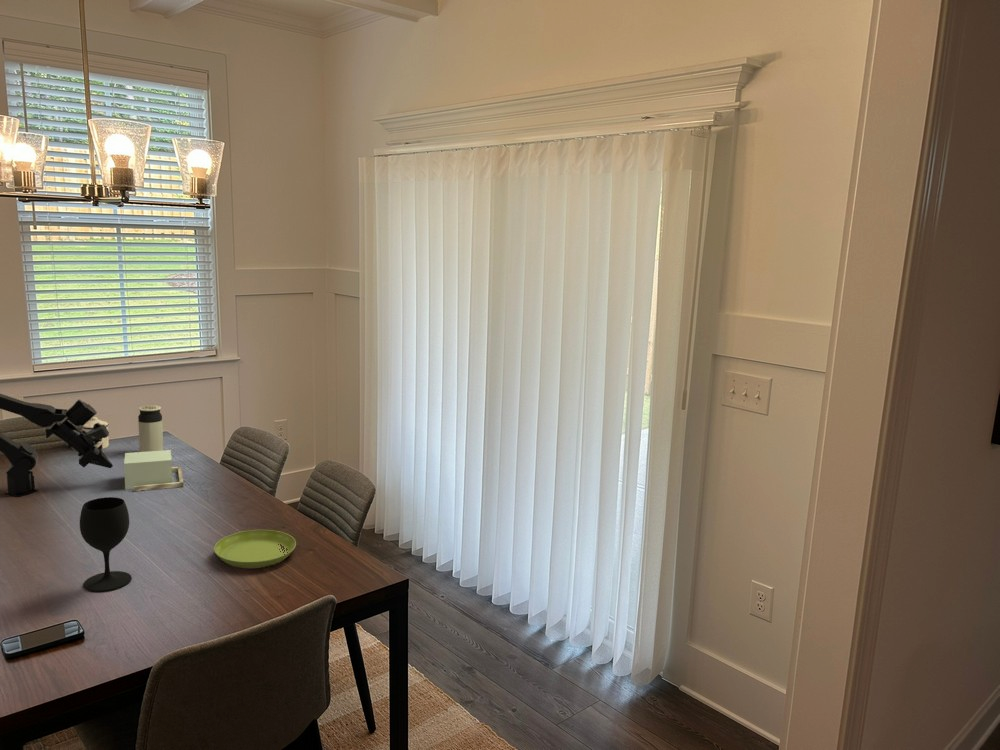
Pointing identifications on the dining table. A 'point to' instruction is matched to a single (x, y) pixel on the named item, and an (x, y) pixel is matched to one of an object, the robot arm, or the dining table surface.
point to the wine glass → (105, 538)
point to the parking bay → (164, 485)
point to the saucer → (254, 548)
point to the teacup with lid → (89, 426)
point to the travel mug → (150, 429)
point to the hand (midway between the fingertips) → (111, 466)
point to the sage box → (147, 468)
